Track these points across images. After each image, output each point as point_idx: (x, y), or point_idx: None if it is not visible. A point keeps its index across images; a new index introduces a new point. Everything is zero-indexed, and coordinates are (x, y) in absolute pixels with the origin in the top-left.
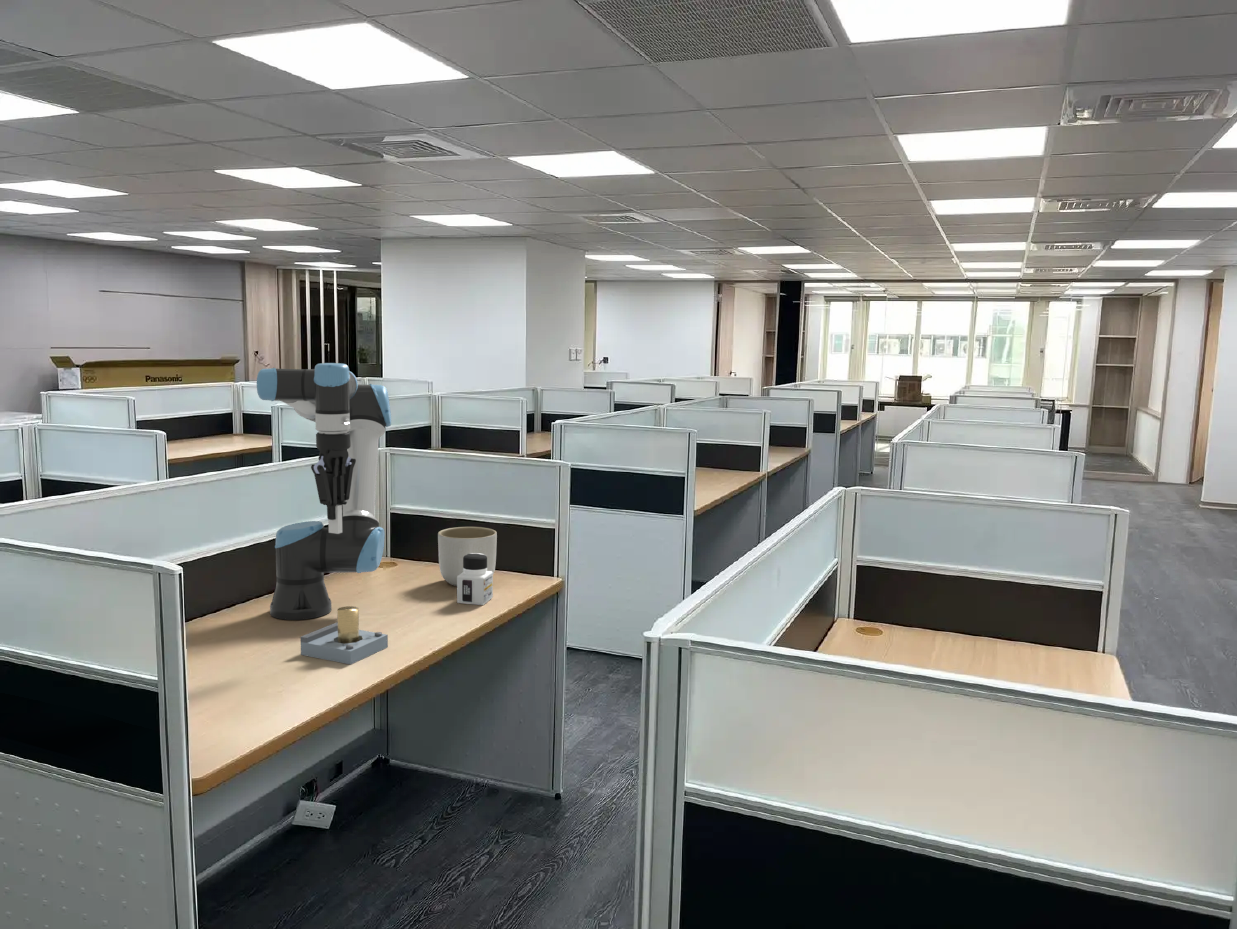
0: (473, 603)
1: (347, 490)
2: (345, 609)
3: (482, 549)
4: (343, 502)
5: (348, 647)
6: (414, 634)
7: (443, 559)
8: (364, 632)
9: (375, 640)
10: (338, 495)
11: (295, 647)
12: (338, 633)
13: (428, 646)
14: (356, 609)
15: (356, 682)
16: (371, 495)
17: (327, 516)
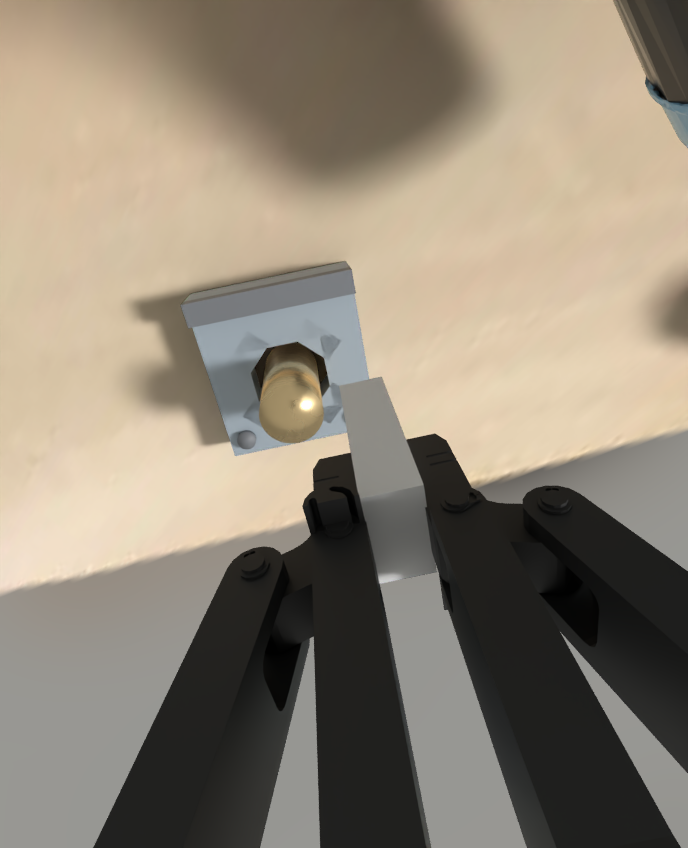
0: None
1: (593, 656)
2: (284, 411)
3: None
4: (445, 607)
5: (239, 445)
6: (481, 386)
7: None
8: (353, 369)
9: (329, 435)
10: (455, 621)
11: (214, 224)
12: (263, 380)
13: None
14: (307, 434)
15: (184, 522)
16: None
17: (313, 476)
